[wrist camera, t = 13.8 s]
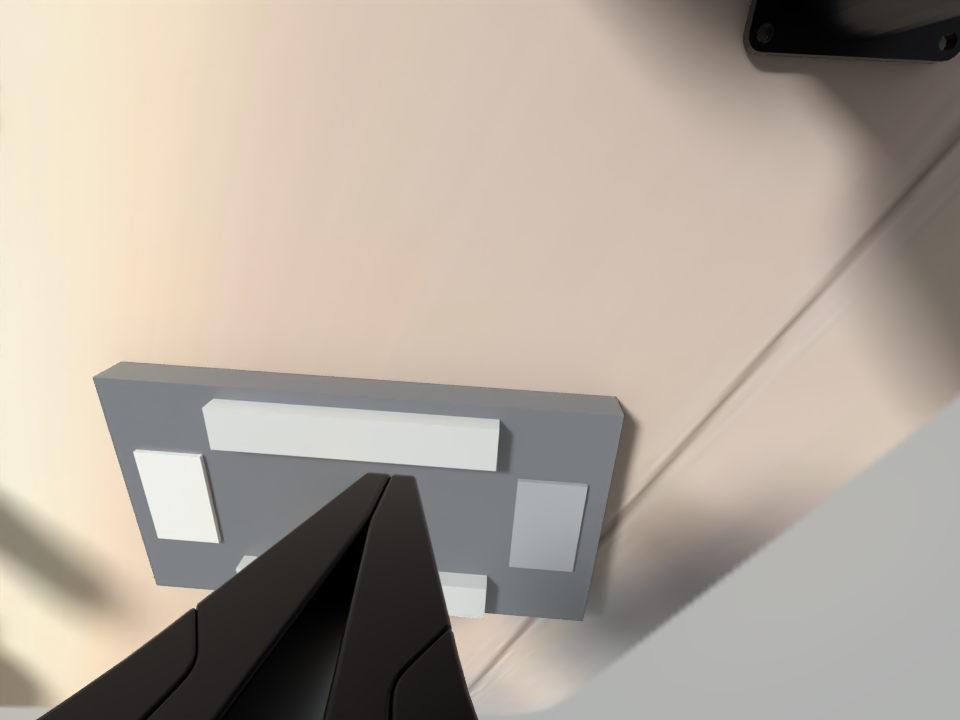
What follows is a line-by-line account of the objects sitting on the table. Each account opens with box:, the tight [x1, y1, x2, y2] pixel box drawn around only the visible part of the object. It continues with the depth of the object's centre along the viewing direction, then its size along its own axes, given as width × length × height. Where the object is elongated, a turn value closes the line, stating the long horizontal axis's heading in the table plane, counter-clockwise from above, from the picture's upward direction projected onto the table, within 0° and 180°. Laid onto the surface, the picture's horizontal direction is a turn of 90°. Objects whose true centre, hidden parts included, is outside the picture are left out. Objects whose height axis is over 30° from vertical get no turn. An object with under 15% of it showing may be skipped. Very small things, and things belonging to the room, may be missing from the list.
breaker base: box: [93, 362, 624, 621], centre depth 22 cm, size 22×12×2 cm, turn 87°
